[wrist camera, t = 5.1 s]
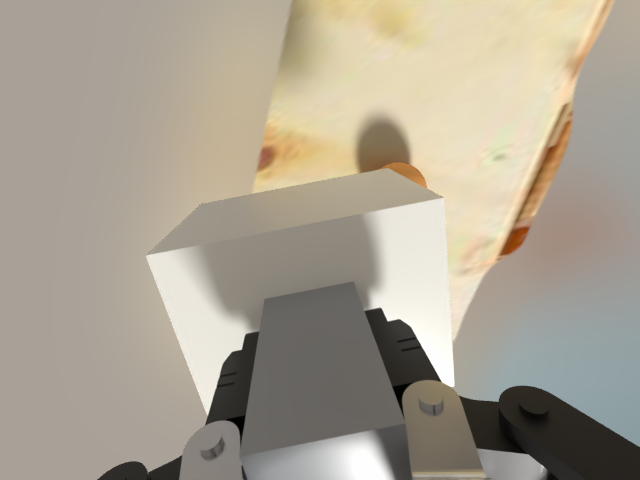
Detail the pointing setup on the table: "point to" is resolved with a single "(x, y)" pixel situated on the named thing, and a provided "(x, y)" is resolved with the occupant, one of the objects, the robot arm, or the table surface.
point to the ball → (407, 172)
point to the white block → (312, 315)
